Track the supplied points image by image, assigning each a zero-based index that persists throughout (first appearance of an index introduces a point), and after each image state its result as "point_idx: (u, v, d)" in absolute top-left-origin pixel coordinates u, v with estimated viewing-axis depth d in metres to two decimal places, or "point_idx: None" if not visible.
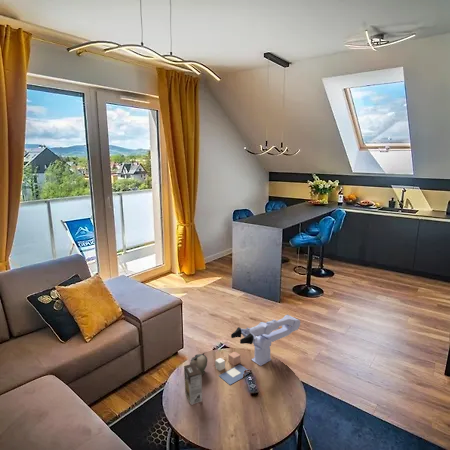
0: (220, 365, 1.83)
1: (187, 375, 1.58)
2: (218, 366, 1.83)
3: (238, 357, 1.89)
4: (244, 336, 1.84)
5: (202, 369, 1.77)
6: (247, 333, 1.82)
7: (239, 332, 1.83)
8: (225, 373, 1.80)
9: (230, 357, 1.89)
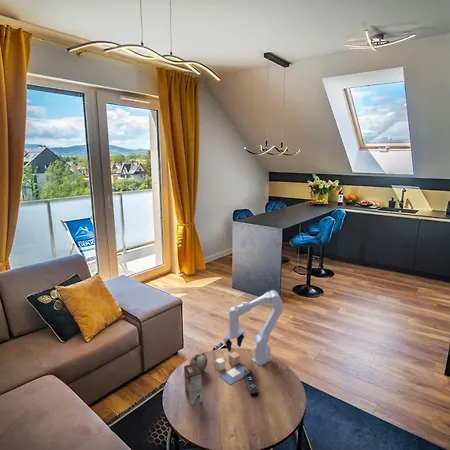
0: (220, 365, 1.83)
1: (187, 375, 1.58)
2: (218, 366, 1.83)
3: (238, 357, 1.89)
4: (239, 335, 1.88)
5: (202, 369, 1.77)
6: None
7: (238, 337, 1.91)
8: (225, 373, 1.80)
9: (230, 357, 1.89)
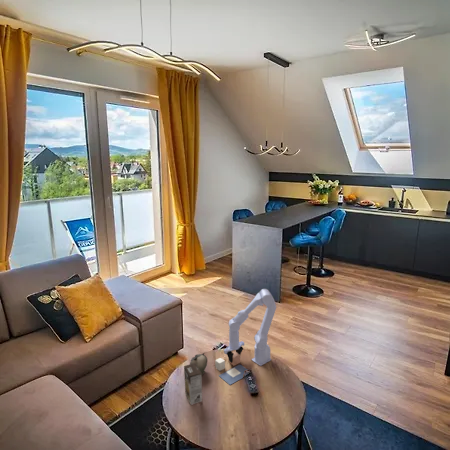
0: (220, 365, 1.83)
1: (187, 375, 1.58)
2: (218, 366, 1.83)
3: (238, 357, 1.89)
4: None
5: (202, 369, 1.77)
6: None
7: (237, 349, 1.92)
8: (225, 373, 1.80)
9: None
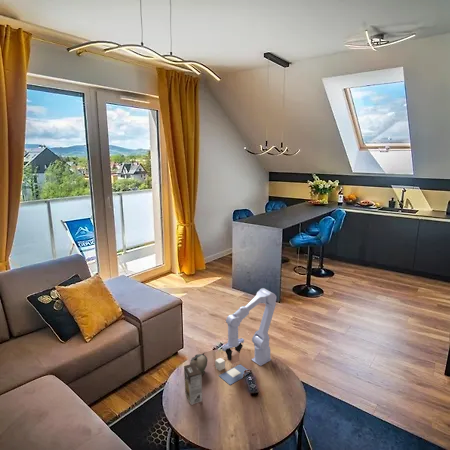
0: (220, 365, 1.83)
1: (187, 375, 1.58)
2: (218, 366, 1.83)
3: (237, 355, 1.80)
4: None
5: (202, 369, 1.77)
6: None
7: None
8: (225, 373, 1.80)
9: None
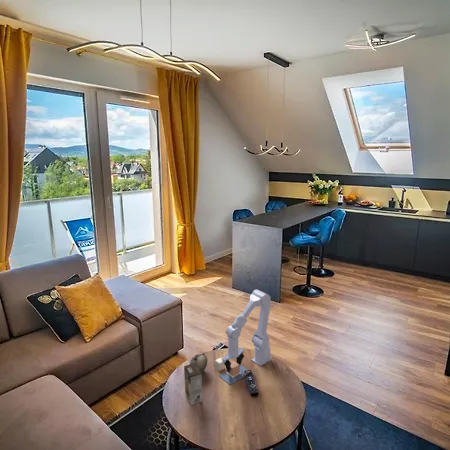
0: (220, 365, 1.83)
1: (187, 375, 1.58)
2: (218, 366, 1.83)
3: (237, 367, 1.79)
4: (238, 355, 1.79)
5: (202, 369, 1.77)
6: None
7: (237, 356, 1.82)
8: (225, 373, 1.80)
9: None
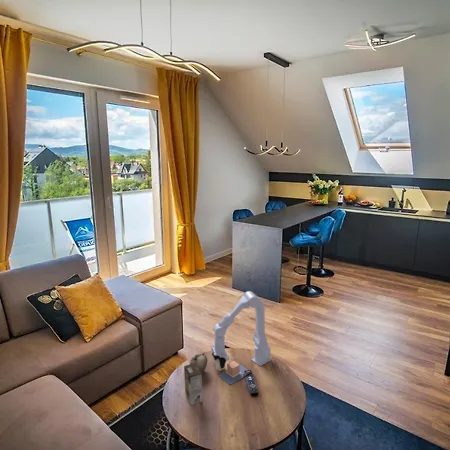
0: None
1: (187, 375, 1.58)
2: (218, 365, 1.83)
3: (237, 367, 1.79)
4: None
5: (202, 369, 1.77)
6: None
7: (216, 355, 1.86)
8: (225, 373, 1.80)
9: (229, 367, 1.79)
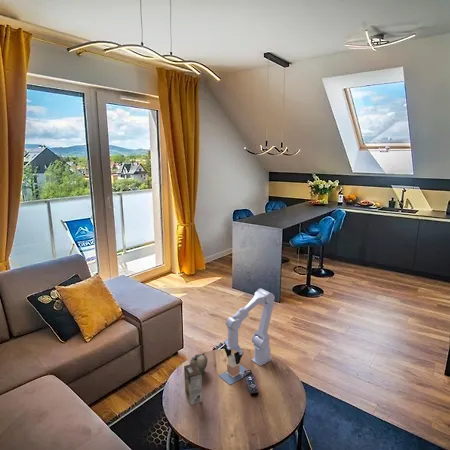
0: (233, 361, 1.77)
1: (187, 375, 1.58)
2: (231, 362, 1.78)
3: (237, 367, 1.79)
4: None
5: (202, 369, 1.77)
6: None
7: (228, 348, 1.81)
8: (225, 373, 1.80)
9: (229, 367, 1.79)
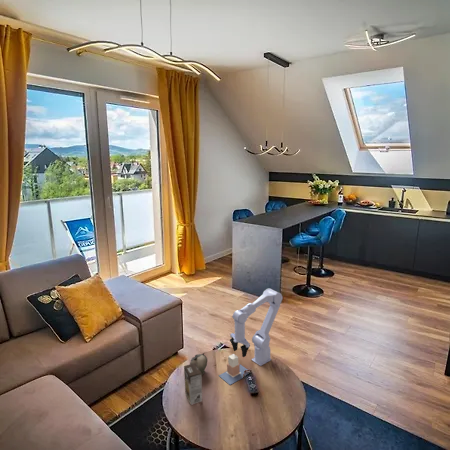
0: (233, 361, 1.77)
1: (187, 375, 1.58)
2: (231, 362, 1.78)
3: (237, 367, 1.79)
4: None
5: (202, 369, 1.77)
6: None
7: (234, 341, 1.83)
8: (225, 373, 1.80)
9: (229, 367, 1.79)
